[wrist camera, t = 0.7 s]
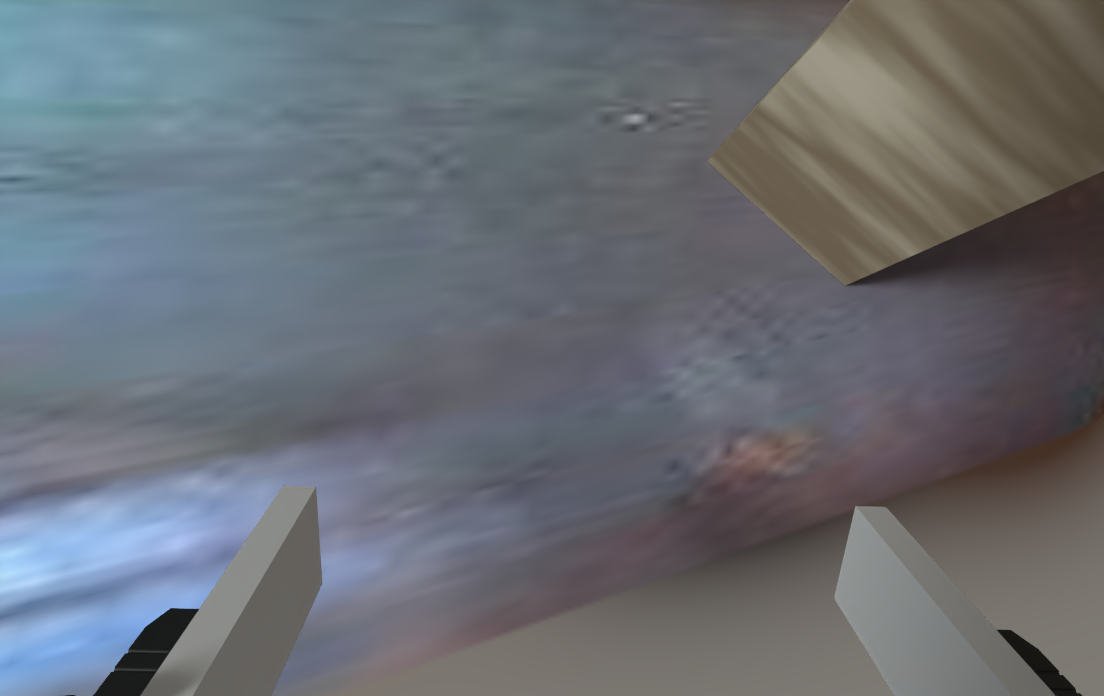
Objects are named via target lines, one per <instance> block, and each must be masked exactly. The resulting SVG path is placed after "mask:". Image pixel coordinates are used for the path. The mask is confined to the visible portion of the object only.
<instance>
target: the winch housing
mask: <svg viewBox="0 0 1104 696" xmlns="http://www.w3.org/2000/svg"><path fill="white" fill-rule="evenodd" d="M707 162H708V163H709V164H711V165H712V166H713V167H714V168H715V169H716V170H717V171H718V172H719V173H720V174H722V175H723V176H724V177H725V178H726V179H727V180H728V181H729V182H730V183H732V184H733V185H734V186H735V187H736V188H737V189H738V190H739V191H740V192H742V193H743V194H744V195H745V196H746V197H747V198H748V199H749V200H750V201H751V202H753V203H754V204H755V205H756V206H757V207H758V208H759V209H760V210H761V211H763V212H764V213H765V214H766V215H767V216H768V217H769V218H770V219H771V220H773V221H774V222H775V223H776V224H777V225H778V226H779V227H780V228H781V229H782V230H784V231H785V232H786V233H787V234H788V235H789V236H790V237H791V238H792V239H794V240H795V241H796V242H797V243H798V244H799V245H800V246H801V247H802V248H804V249H805V250H806V251H807V252H808V253H809V254H810V255H811V256H812V257H813V258H815V259H816V260H817V261H818V262H819V263H820V264H821V265H822V266H823V267H825V268H826V269H827V270H828V271H829V272H830V273H831V274H832V275H833V276H834V277H836V278H837V279H838V280H839V281H840V282H841V283H842V284H843V285H844V286H846V285H848V284H850V283H852V282H855V281H857V280H859V279H861V278H864V277H866V276H868V275H870V274H873V273H875V272H877V271H879V270H882V269H884V268H886V267H888V266H891V265H893V264H895V263H897V262H900V261H902V260H904V259H906V258H909V257H911V256H913V255H916V254H918V253H920V252H922V251H925V250H927V249H929V248H931V247H934V246H936V245H938V244H940V243H943V242H945V241H947V240H949V239H952V238H954V237H956V236H958V235H961V234H963V233H965V232H967V231H970V230H972V229H974V228H976V227H979V226H981V225H983V224H985V223H988V222H990V221H992V220H994V219H997V218H999V217H1001V216H1003V215H1006V214H1008V213H1010V212H1012V211H1015V210H1017V209H1019V208H1021V207H1024V206H1026V205H1028V204H1030V203H1033V202H1035V201H1037V200H1039V199H1042V198H1044V197H1046V196H1048V195H1051V194H1053V193H1055V192H1057V191H1060V190H1062V189H1064V188H1066V187H1069V186H1071V185H1073V184H1075V183H1078V182H1080V181H1082V180H1084V179H1087V178H1089V177H1091V176H1093V175H1096V174H1098V173H1100V172H1102V171H1104V0H850V1H849V2H848V4H847V5H846V6H845V7H844V8H843V9H842V10H841V11H840V12H839V13H838V15H837V16H836V17H835V18H834V19H833V20H832V21H831V22H830V23H829V24H828V26H827V27H826V28H825V29H824V30H823V31H822V32H821V33H820V35H819V36H818V37H817V38H816V39H815V40H814V41H813V42H812V44H811V45H810V46H809V47H808V48H807V49H806V50H805V51H804V53H803V54H802V55H801V56H800V57H799V58H798V59H797V60H796V62H795V63H794V64H793V65H792V66H791V67H790V68H789V70H788V71H787V72H786V73H785V74H784V75H783V76H782V77H781V79H780V80H779V81H778V82H777V83H776V84H775V85H774V86H773V88H772V89H771V90H770V91H769V92H768V93H767V94H766V96H765V97H764V98H763V99H762V100H761V101H760V102H759V103H758V105H757V106H756V107H755V108H754V109H753V110H752V111H751V112H750V114H749V115H748V116H747V117H746V118H745V119H744V120H743V122H742V123H741V124H740V125H739V126H738V127H737V128H736V129H735V131H734V132H733V133H732V134H731V135H730V136H729V137H728V138H727V140H726V141H725V142H724V143H723V144H722V145H721V146H720V148H719V149H718V150H717V151H716V152H715V153H714V154H713V155H712V157H711V158H710V159H709V160H708V161H707Z"/></svg>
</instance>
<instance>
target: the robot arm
mask: <svg viewBox="0 0 1104 696" xmlns="http://www.w3.org/2000/svg"><path fill="white" fill-rule="evenodd" d="M321 585H322V571H321V556H320V541H319V526H318V511H317V496H316V487H304V486H283V487H282V488H281V490H280V491H279V493H278V494H277V496H276V497H275V499H274V500H273V502H272V503H271V505H270V506H269V507H268V509H267V510H266V512H265V513H264V515H263V516H262V518H261V519H260V521H259V522H258V524H257V525H256V527H255V528H254V530H253V531H252V532H251V534H250V535H249V537H248V538H247V540H246V541H245V543H244V544H243V546H242V547H241V549H240V550H239V552H238V553H237V554H236V556H235V557H234V559H233V560H232V562H231V563H230V565H229V566H228V568H227V569H226V571H225V572H224V574H223V575H222V577H221V578H220V579H219V581H218V582H217V584H216V585H215V587H214V588H213V590H212V591H211V593H210V594H209V596H208V597H207V599H206V600H205V601H204V603H203V604H202V606H201V607H200V609H177V608H171V609H169V610H168V611H167V612H165V613H164V614H163V615H161V616H160V617H158V618H157V619H156V620H154V621H153V622H152V623H150V624H149V625H148V626H146V627H145V628H144V630H143V631H142V632H141V634H140V635H139V636H138V638H137V639H136V640H135V642H134V643H133V644H132V645H131V647H130V648H129V651H128V654H125V655H124V656H123V657H122V659H121V660H120V661H119V662H118V664H117V665H116V666H115V670H114V672H111V673H110V674H109V676H108V677H107V678H106V680H105V681H104V682H103V683H102V685H101V686H100V687H99V689H98V690H97V691H96V693H95V694H94V695H93V696H271V695H272V693H273V690H274V688H275V686H276V684H277V682H278V679H279V677H280V675H281V673H282V671H283V668H284V666H285V664H286V662H287V660H288V657H289V655H290V653H291V651H292V649H293V646H294V644H295V642H296V640H297V638H298V635H299V633H300V631H301V629H302V627H303V624H304V622H305V620H306V618H307V616H308V613H309V611H310V609H311V607H312V605H313V602H314V600H315V598H316V596H317V594H318V591H319V589H320V587H321ZM834 599H835V600H836V602H837V604H838V605H839V607H840V609H841V610H842V612H843V613H844V615H845V617H846V618H847V620H848V621H849V623H850V625H851V626H852V628H853V629H854V631H855V633H856V634H857V636H858V638H859V639H860V641H861V642H862V644H863V645H864V647H865V649H866V650H867V652H868V654H869V655H870V657H871V658H872V660H873V661H874V663H875V665H876V666H877V668H878V670H879V671H880V673H881V674H882V676H883V678H884V679H885V681H886V683H887V684H888V686H889V687H890V689H891V691H892V692H893V694H894V695H895V696H1082V695H1081V694H1080V693H1076V689H1075V688H1074V686H1073V685H1072V684H1071V683H1070V682H1069V681H1068V680H1067V679H1066V678H1065V677H1064V676H1063V675H1059V671H1058V670H1057V669H1056V667H1055V666H1054V665H1052V663H1051V662H1050V661H1049V660H1048V659H1047V658H1046V657H1045V656H1044V655H1043V654H1042V653H1041V652H1040V651H1039V649H1037V648H1036V647H1034V646H1033V645H1031V644H1030V643H1029V642H1027V641H1026V640H1024V639H1023V638H1021V637H1020V636H1018V635H1017V634H1016V633H1014V632H1013V631H1011V630H996V629H995V628H994V627H993V626H992V624H990V622H989V621H988V620H987V619H986V618H985V617H984V616H983V615H982V613H981V612H980V611H979V610H978V609H977V608H976V607H975V606H974V604H973V603H972V602H971V601H970V600H969V599H968V598H967V597H966V596H965V595H964V593H963V592H962V591H961V590H960V589H959V588H958V587H957V586H956V585H955V583H954V582H953V581H952V580H951V579H950V578H949V577H948V576H947V574H946V573H945V572H944V571H943V570H942V569H941V568H940V567H939V566H938V564H937V563H936V562H935V561H934V560H933V559H932V558H931V557H930V556H929V555H928V554H927V552H926V551H925V550H924V549H923V548H922V547H921V546H920V545H919V543H918V542H917V541H916V540H915V539H914V538H913V537H912V536H911V534H910V533H909V532H908V531H907V530H906V529H905V528H904V527H903V526H902V524H901V523H900V522H899V521H898V520H897V519H896V518H895V517H894V516H893V514H891V512H890V511H889V510H888V509H887V508H886V507H868V506H855V510H854V515H853V519H852V524H851V528H850V532H849V536H848V541H847V545H846V549H845V554H844V558H843V562H842V566H841V571H840V576H839V579H838V584H837V588H836V593H835V597H834ZM67 696H75V695H67Z"/></svg>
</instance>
